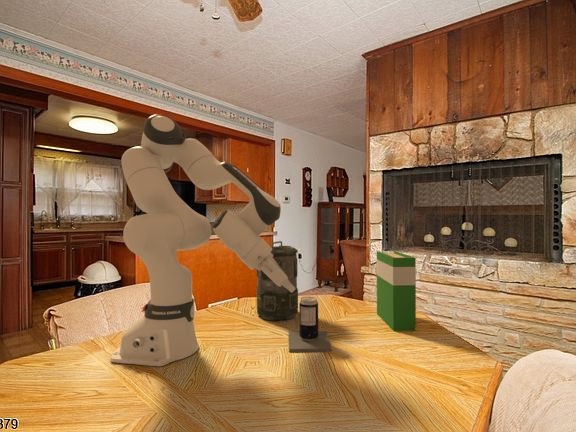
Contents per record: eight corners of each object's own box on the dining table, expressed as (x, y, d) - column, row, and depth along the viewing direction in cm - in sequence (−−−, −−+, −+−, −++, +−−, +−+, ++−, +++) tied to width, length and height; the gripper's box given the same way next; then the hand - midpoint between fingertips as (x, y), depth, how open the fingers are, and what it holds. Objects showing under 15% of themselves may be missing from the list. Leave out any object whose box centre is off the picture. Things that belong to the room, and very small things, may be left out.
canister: (287, 324, 109) (286, 244, 109) (248, 317, 116) (248, 242, 116) (304, 311, 123) (304, 240, 123) (269, 306, 130) (268, 239, 130)
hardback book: (376, 313, 120) (376, 251, 119) (396, 313, 120) (395, 251, 120) (393, 331, 102) (393, 257, 102) (415, 330, 102) (415, 257, 102)
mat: (289, 351, 87) (289, 349, 87) (288, 333, 100) (288, 331, 100) (331, 351, 87) (331, 348, 87) (325, 333, 100) (325, 331, 100)
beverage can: (322, 339, 94) (322, 299, 94) (307, 343, 90) (307, 302, 90) (309, 333, 98) (309, 295, 98) (295, 337, 95) (295, 298, 95)
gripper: (268, 251, 82) (305, 286, 84) (262, 244, 103) (292, 273, 104) (251, 268, 82) (288, 304, 83) (249, 258, 102) (279, 287, 103)
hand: (290, 286), depth 94 cm, fingers open, 8 cm apart
